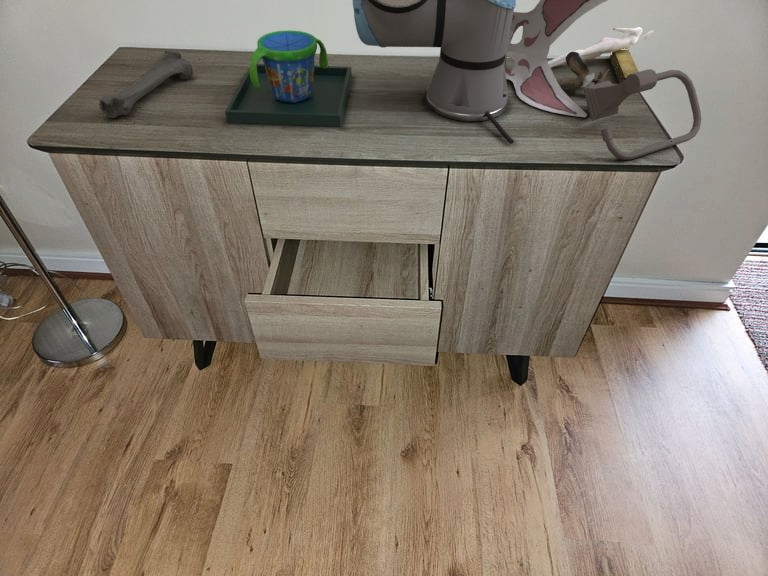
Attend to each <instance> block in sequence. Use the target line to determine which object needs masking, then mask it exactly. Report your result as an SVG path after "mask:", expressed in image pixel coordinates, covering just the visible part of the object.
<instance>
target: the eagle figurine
mask: <svg viewBox="0 0 768 576" xmlns="http://www.w3.org/2000/svg"><path fill="white" fill-rule="evenodd" d="M565 58H566V62H567V63H565V64H566V65H567V66H568V68H569V69H570V72H571V73H573V74H574V75H576V76H577V77H571V78H562V79H560V80H557V82H558V84H559V86H560V87H561V89H567V90H575V89H576V88H583V87H586V86H590V84H591V83H594V84H598V83H602V82H603V80H604V79H605V77H606V76H607V75H608V73H609V71H610V68H608V69H606V70H605V72H602V71H600V72H599V74H598V75H597V78H595V72H591V73H590V74H589V72H590V69H589V65H588V64H587V62H585V61H584V60H582V59H581V58H580V56H579V53H578V52H577V53H576V52H570V53H569V54H567V56H566V57H565ZM594 84H593V85H594Z"/></svg>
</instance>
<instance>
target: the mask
mask: <svg viewBox="0 0 768 576" xmlns="http://www.w3.org/2000/svg"><path fill="white" fill-rule="evenodd" d="M606 2H608V0H539V1H538V2H537V4H536V5H535V6H534V8H533V9H531V10H530V11H527V12H526V11H525V12H519V11H513V17H512V23H511V28H510V34H509V40H508V45H507V51H506V57H505V63H504V67H505V74H506V80H509V81H511V82H512V83H513V86H514V89H515V93H516V96H517V97H518V98H519V99H520V100H521V101H522V102H524V103H526V104H527V105H529V106H532V107H535V108H537V109H539V110H543V111H546V112H550V113H553V114H554V113H555V114H560V115H565V116H572V117H580V118H587V116H588V113H587V112H585V111H584V110H583V109H582V108H581V107H580V106H579V105H578V104H577V103H576V102H575V101H574V100H572V99H571V97H570V96H569V95H568V93H566V92H565V91H564V89H563V88H561V87H560V86H559V84H558V80H557V79H556V76H555V74H554V73H553V70H552V68H550V66H549V64H548V62H549V60H548V59H547V58H548V55H549V52H550V48H551V46H552V44H553V43H554V42H555V41H556V40H557V39H558V38H559V37H560V36H562V34H564V33H565V32H566V31H567V30H568V29H569V28H570V27H571V26H572V25H573V24H574V23H575V22H576V21H577V20H578V19H580V18H581V17H583V16H584V15H585V14H587V13H588V12H590V11H591V10H593V9H595V8H597V7H598V6H600V5H602V4H604V3H606ZM520 27H522V34H521V39H520V41H519V42H517V43H511V42H512V40H513V37H514V35H515V33H516V32H517V30H518V29H520ZM507 58H510V60H512V61H513V62H514V65H513V67H512V69H511V71H508V70H507Z"/></svg>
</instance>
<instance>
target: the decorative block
mask: <svg viewBox="0 0 768 576" xmlns="http://www.w3.org/2000/svg"><path fill="white" fill-rule="evenodd" d="M609 61H610V63H611V67H612V69H613V71H614V73H615V77H616V78H617V81H618V84H619V83H621V82H623V81H625V79H626V77H627V76H628V75H629V74H632V73H636V72H639V70H638V67H637V66H636V63H635V61H634V58H633V57H632V55H631V52H630V50H629V49H628V50H617V51H615V52H612V55H611V54H610V55H609Z"/></svg>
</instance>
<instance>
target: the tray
mask: <svg viewBox="0 0 768 576" xmlns="http://www.w3.org/2000/svg"><path fill="white" fill-rule="evenodd" d="M256 66H257V74H258V82H259V85H260V89H257V88H255V86H254V85H253V84H252V82H251V79H250V66H249V67H248V69H247V71H246V72H245V75H244V76H243V78H242V80H241V82H240V84H239V85H238V87H237V89H236V91H235V92H234V95H233V96H232V98H231V100H230V101H229V104H228V105H227V107H226V109H225V111H224V114H225V118H226V123H227V124H244V125H246V124H247V125H272V126H273V125H274V126H275V125H276V126H305V127H328V128H329V127H331V128H332V127H333V128H341V127H342V123H343V118H344V114H345V110H346V104H347V101H348V96H349V91H350V86H351V82H352V79H353V77H352V66H337V65H335V66H334V65H328V67H327V69H323V68H321V67H320V65H314V80H313V92H312V95H311V97H310V98H307V99H305V100H303V101H300V102H296V103H290V102H283V101H280V100H276V99H275V97H274V95H273V93H272V90H271V87H270V83H269V79H268V76H267V73H266V69H265V66H264V63H257V65H256Z"/></svg>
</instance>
